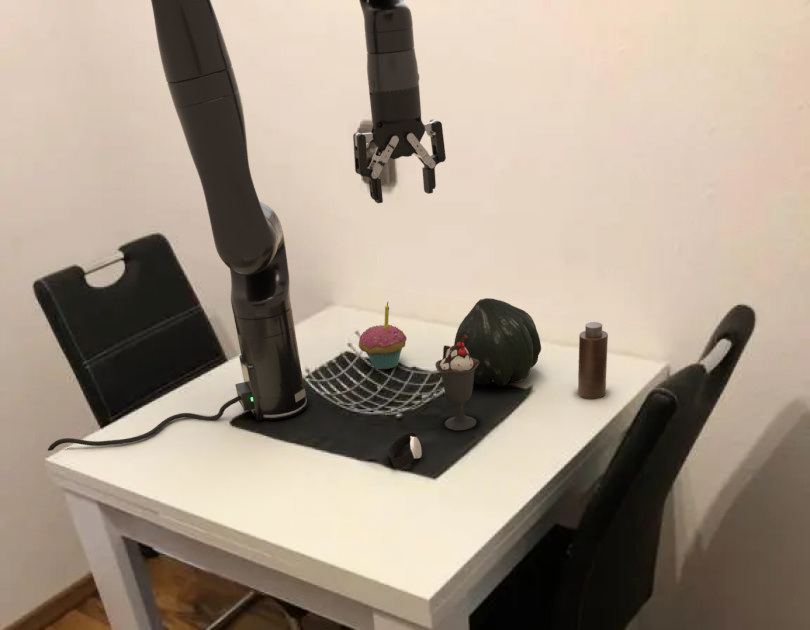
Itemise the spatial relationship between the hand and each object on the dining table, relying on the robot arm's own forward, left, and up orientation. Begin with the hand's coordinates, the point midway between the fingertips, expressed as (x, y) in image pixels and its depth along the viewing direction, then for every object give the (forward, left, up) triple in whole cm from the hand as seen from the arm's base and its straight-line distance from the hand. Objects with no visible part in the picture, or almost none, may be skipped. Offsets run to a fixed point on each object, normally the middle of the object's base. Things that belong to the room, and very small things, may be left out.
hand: (403, 197), depth 144 cm
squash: (+11, -9, -30) cm, 33 cm away
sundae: (-2, -22, -30) cm, 37 cm away
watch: (-13, -28, -30) cm, 43 cm away
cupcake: (-4, +7, -30) cm, 31 cm away
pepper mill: (+21, -23, -30) cm, 43 cm away
